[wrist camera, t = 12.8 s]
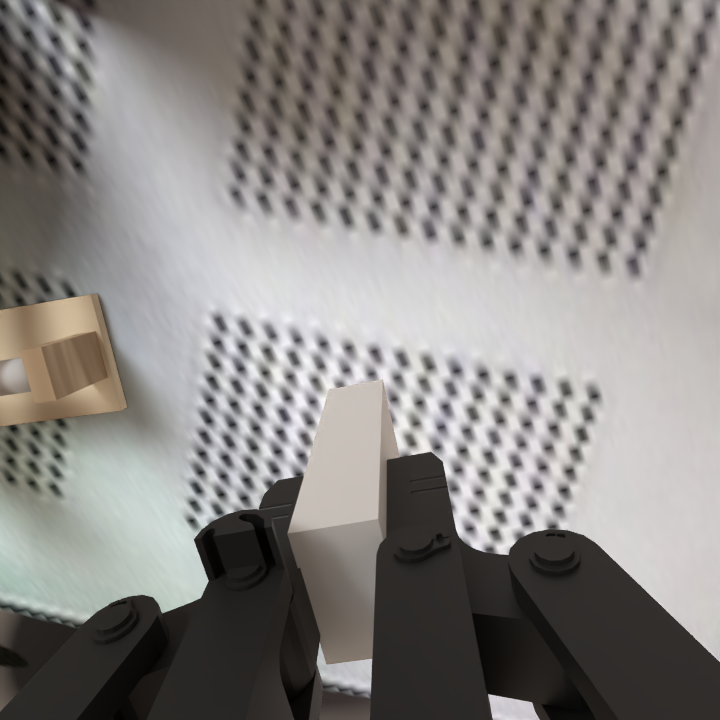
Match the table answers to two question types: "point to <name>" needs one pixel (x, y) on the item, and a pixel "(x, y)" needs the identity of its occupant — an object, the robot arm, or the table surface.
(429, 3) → the table surface
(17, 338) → the pipe stand
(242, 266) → the table surface
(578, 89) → the table surface
